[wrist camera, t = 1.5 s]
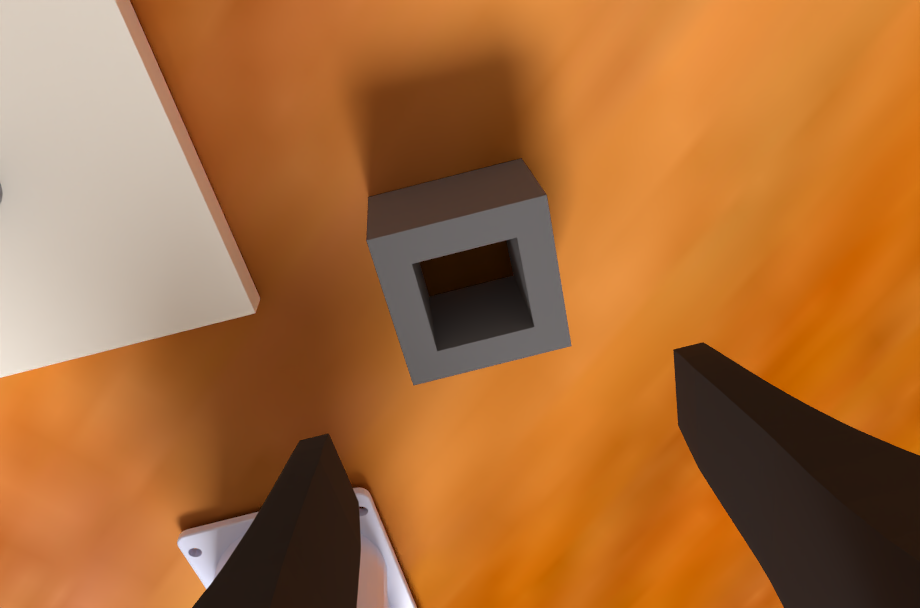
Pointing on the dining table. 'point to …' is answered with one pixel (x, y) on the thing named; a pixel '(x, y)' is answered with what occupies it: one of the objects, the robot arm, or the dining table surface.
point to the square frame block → (479, 306)
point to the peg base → (100, 193)
